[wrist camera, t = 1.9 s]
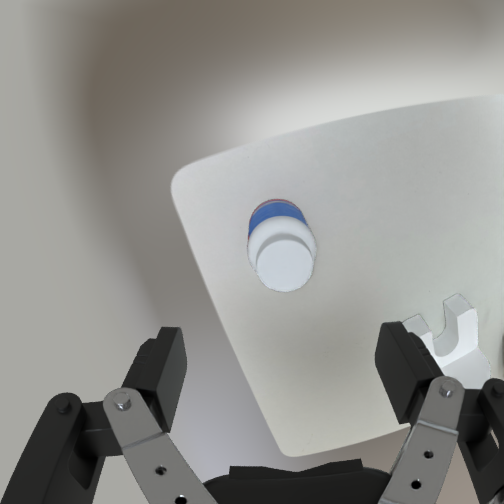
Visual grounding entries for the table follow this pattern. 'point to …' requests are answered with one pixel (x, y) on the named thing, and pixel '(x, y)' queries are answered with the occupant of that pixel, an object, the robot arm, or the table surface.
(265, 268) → the pill bottle
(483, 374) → the white slotted bracket
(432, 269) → the table surface
